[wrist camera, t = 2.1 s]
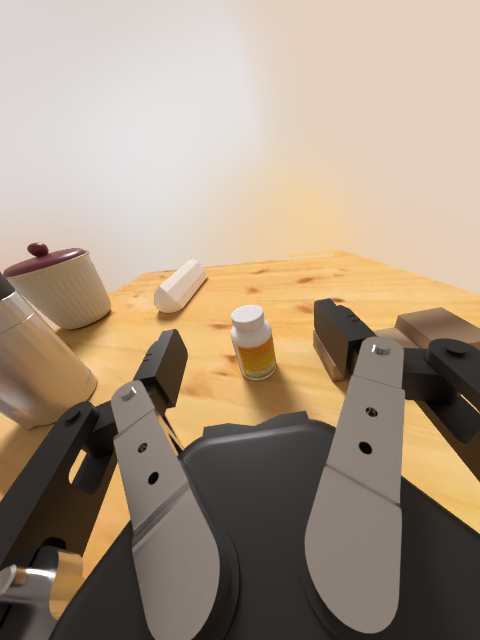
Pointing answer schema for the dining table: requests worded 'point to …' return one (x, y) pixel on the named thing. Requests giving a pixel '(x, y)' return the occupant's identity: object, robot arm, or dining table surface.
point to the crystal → (179, 287)
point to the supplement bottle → (253, 342)
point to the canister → (61, 285)
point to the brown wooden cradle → (413, 334)
